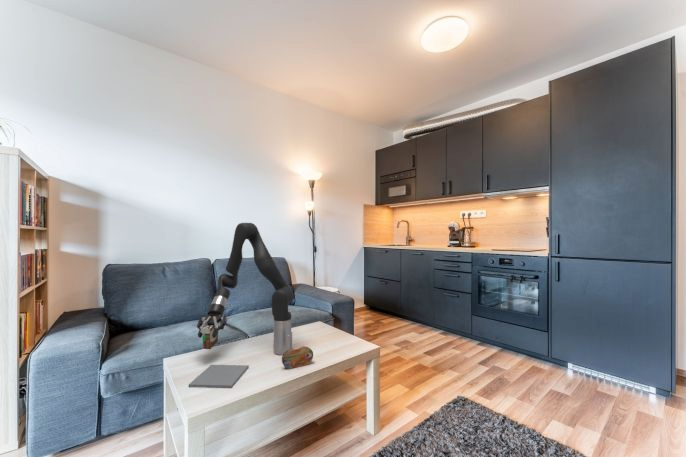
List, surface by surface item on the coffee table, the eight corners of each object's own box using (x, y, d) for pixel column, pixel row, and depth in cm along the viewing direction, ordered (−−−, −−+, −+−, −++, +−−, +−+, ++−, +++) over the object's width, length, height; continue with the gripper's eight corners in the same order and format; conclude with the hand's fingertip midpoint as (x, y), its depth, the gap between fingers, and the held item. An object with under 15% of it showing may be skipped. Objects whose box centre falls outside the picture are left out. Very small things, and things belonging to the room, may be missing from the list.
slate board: (248, 367, 135) (248, 365, 135) (231, 388, 117) (231, 385, 117) (211, 366, 136) (211, 364, 136) (188, 386, 118) (188, 384, 118)
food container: (206, 341, 148) (206, 321, 148) (219, 340, 149) (218, 321, 149) (196, 351, 136) (195, 329, 136) (209, 350, 136) (209, 329, 137)
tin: (282, 370, 132) (282, 352, 132) (280, 368, 134) (280, 349, 135) (313, 363, 139) (313, 346, 139) (311, 361, 141) (311, 344, 142)
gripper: (202, 302, 151) (189, 333, 139) (228, 302, 150) (218, 333, 138) (207, 310, 156) (195, 340, 144) (233, 310, 155) (223, 340, 143)
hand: (206, 336), depth 141 cm, fingers closed on food container, 6 cm apart
